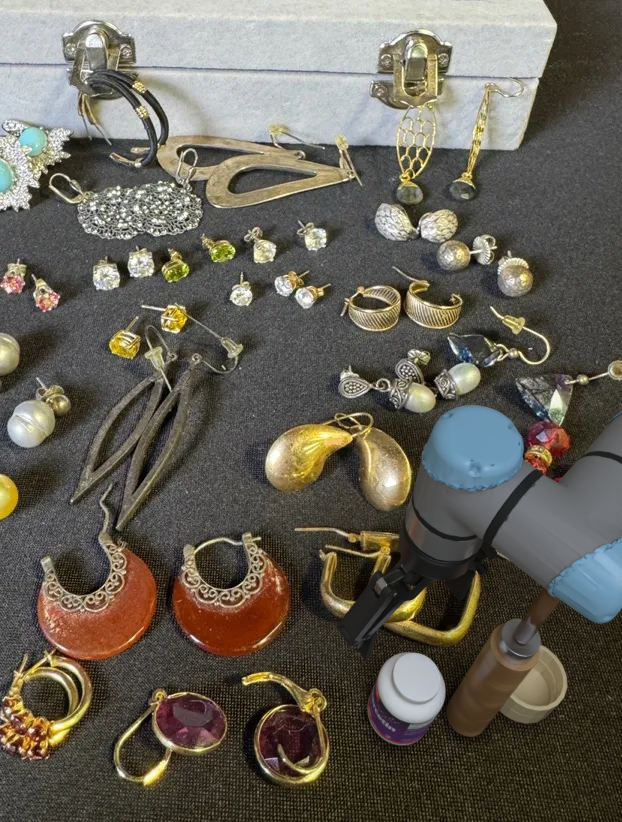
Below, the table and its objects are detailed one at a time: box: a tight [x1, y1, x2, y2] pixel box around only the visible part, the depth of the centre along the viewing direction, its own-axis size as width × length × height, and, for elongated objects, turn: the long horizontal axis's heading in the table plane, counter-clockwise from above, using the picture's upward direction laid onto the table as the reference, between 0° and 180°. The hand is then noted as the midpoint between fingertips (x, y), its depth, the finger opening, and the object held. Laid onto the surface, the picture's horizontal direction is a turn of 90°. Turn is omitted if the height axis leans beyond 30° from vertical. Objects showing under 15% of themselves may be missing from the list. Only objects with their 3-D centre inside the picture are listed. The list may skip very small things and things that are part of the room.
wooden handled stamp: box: [496, 586, 561, 665], centre depth 80 cm, size 4×4×15 cm
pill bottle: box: [366, 651, 446, 746], centre depth 99 cm, size 8×8×14 cm
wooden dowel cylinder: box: [445, 622, 540, 738], centre depth 95 cm, size 5×5×24 cm
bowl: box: [498, 644, 568, 725], centre depth 104 cm, size 9×9×6 cm
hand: (408, 619), depth 93 cm, fingers open, 13 cm apart
